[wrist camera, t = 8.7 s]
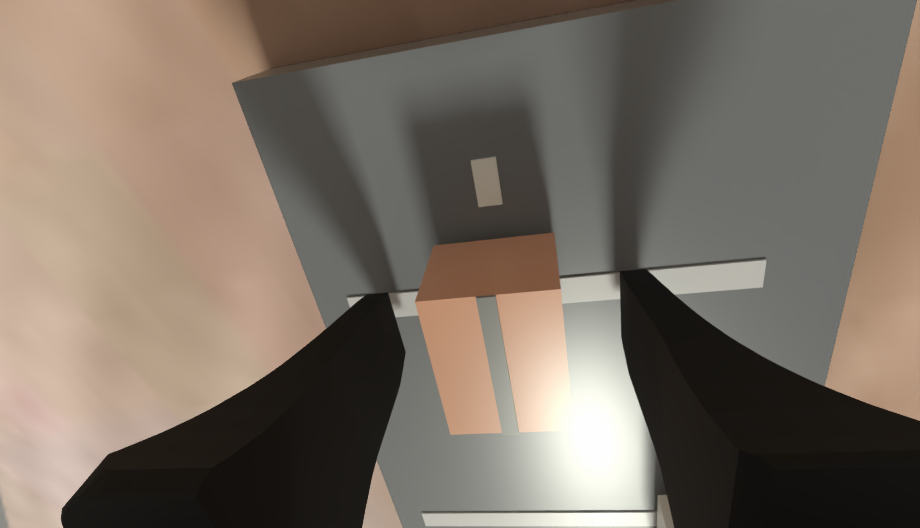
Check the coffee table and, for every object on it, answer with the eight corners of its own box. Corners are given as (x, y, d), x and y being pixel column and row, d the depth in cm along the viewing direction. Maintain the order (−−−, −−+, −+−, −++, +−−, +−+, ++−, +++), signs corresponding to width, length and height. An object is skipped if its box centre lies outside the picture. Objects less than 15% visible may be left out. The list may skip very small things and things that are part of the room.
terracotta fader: (554, 232, 12) (561, 291, 10) (566, 359, 14) (574, 433, 12) (433, 245, 12) (414, 303, 10) (461, 366, 14) (449, 436, 12)
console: (862, -43, 11) (930, -47, 9) (754, 538, 21) (776, 591, 19) (270, 68, 13) (230, 83, 11) (431, 537, 23) (423, 583, 21)
